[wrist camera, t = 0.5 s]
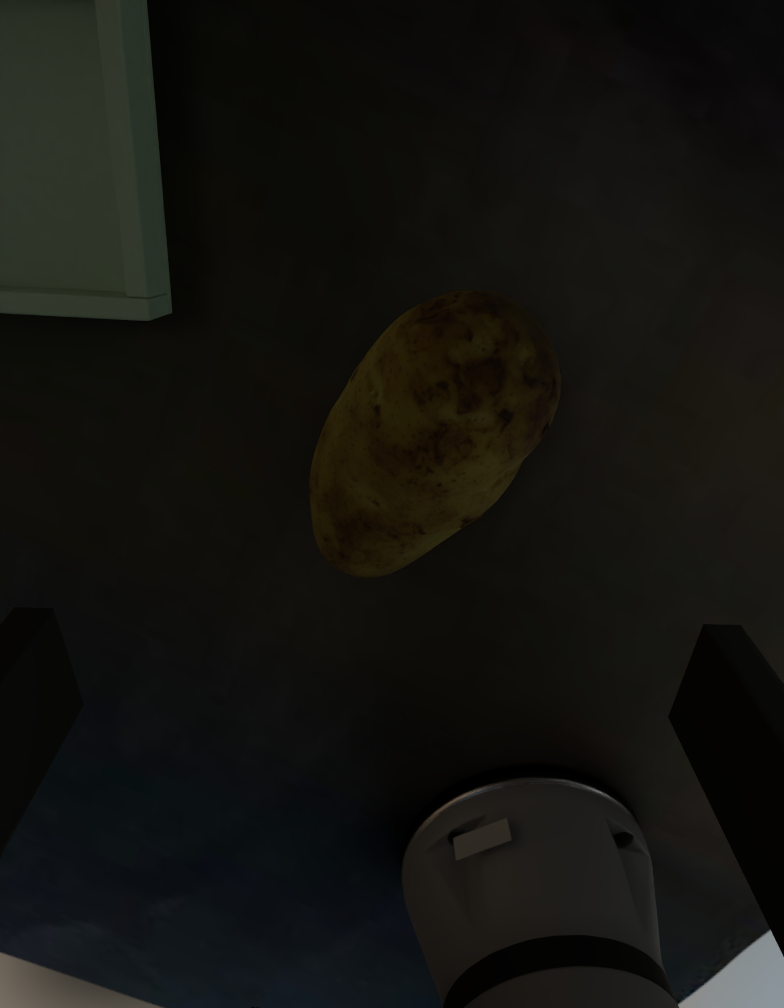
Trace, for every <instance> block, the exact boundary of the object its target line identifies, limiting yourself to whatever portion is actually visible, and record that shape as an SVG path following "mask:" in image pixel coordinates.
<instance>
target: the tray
mask: <svg viewBox="0 0 784 1008" xmlns="http://www.w3.org/2000/svg"><path fill="white" fill-rule="evenodd" d="M0 313H6V314H25V315H44V316H63V317H82V318H102V319H121V320H140V321H150V320H153V319H156V318H159V317H161V316H164V315H167V314H171V313H172V301H171V289H170V277H169V265H168V253H167V241H166V228H165V216H164V204H163V192H162V180H161V168H160V155H159V143H158V131H157V119H156V107H155V95H154V82H153V70H152V58H151V46H150V34H149V22H148V9H147V0H0Z"/></svg>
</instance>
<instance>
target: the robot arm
mask: <svg viewBox="0 0 784 1008" xmlns="http://www.w3.org/2000/svg"><path fill="white" fill-rule="evenodd" d="M83 705H84V703H83V700H82V697H81V694H80V691H79V688H78V685H77V681H76V678H75V675H74V672H73V669H72V666H71V663H70V660H69V656H68V653H67V650H66V647H65V644H64V641H63V638H62V634H61V631H60V628H59V625H58V622H57V619H56V616H55V613H54V609H53V608H18V607H14V609H13V610H12V611H11V612H10V614H9V615H8V616H7V617H6V618H5V620H4V621H3V622H2V623H1V625H0V856H1V854H2V852H3V851H4V849H5V847H6V845H7V843H8V841H9V840H10V838H11V836H12V834H13V832H14V831H15V829H16V827H17V825H18V823H19V821H20V820H21V818H22V816H23V814H24V812H25V811H26V809H27V807H28V805H29V803H30V801H31V800H32V798H33V796H34V794H35V792H36V790H37V789H38V787H39V785H40V783H41V781H42V780H43V778H44V776H45V774H46V772H47V770H48V769H49V767H50V765H51V763H52V761H53V760H54V758H55V756H56V754H57V752H58V750H59V749H60V747H61V745H62V743H63V741H64V739H65V738H66V736H67V734H68V732H69V730H70V729H71V727H72V725H73V723H74V721H75V719H76V718H77V716H78V714H79V712H80V710H81V709H82V707H83ZM668 718H669V720H670V722H671V724H672V726H673V728H674V730H675V732H676V734H677V736H678V738H679V741H680V743H681V745H682V747H683V749H684V751H685V753H686V755H687V757H688V759H689V761H690V763H691V765H692V767H693V770H694V772H695V774H696V776H697V778H698V780H699V782H700V784H701V786H702V788H703V790H704V792H705V794H706V797H707V799H708V801H709V803H710V805H711V807H712V809H713V811H714V813H715V815H716V817H717V819H718V821H719V824H720V826H721V828H722V830H723V832H724V834H725V836H726V838H727V840H728V842H729V844H730V846H731V848H732V850H733V853H734V855H735V857H736V859H737V861H738V863H739V865H740V867H741V869H742V871H743V873H744V875H745V877H746V880H747V882H748V884H749V886H750V888H751V890H752V892H753V894H754V896H755V898H756V900H757V902H758V904H759V906H760V909H761V911H762V913H763V915H764V917H765V919H766V921H767V923H768V925H769V927H770V929H771V931H772V933H773V936H774V938H775V940H776V942H777V944H778V946H779V948H780V950H781V952H782V954H783V956H784V684H783V683H782V681H781V680H780V679H779V677H778V676H777V675H776V673H775V672H774V670H773V669H772V668H771V666H770V665H769V664H768V662H767V661H766V659H765V658H764V657H763V655H762V654H761V653H760V651H759V650H758V648H757V647H756V646H755V644H754V643H753V641H752V640H751V639H750V637H749V636H748V635H747V633H746V632H745V630H744V629H743V628H742V626H741V625H712V624H703V627H702V629H701V632H700V635H699V637H698V640H697V643H696V645H695V648H694V651H693V653H692V656H691V658H690V661H689V664H688V666H687V669H686V672H685V674H684V677H683V680H682V682H681V685H680V687H679V690H678V693H677V695H676V698H675V701H674V703H673V706H672V709H671V711H670V714H669V716H668ZM401 879H402V888H403V893H404V898H405V903H406V907H407V911H408V913H409V916H410V919H411V921H412V924H413V927H414V929H415V932H416V935H417V937H418V940H419V943H420V945H421V948H422V951H423V953H424V956H425V959H426V961H427V964H428V967H429V969H430V972H431V975H432V977H433V980H434V983H435V985H436V988H437V991H438V993H439V996H440V999H441V1004H442V1008H679V1007H678V1004H677V1002H676V999H675V997H674V994H673V992H672V989H671V987H670V984H669V981H668V979H667V976H666V973H665V971H664V968H663V965H662V961H661V954H660V943H659V933H658V922H657V912H656V902H655V891H654V881H653V871H652V863H651V858H650V854H649V851H648V847H647V843H646V840H645V837H644V835H643V832H642V830H641V828H640V826H639V824H638V821H637V819H636V817H635V815H634V813H633V811H632V809H631V808H630V807H629V805H628V804H627V802H626V801H625V800H624V799H623V798H622V797H621V796H620V795H619V794H618V793H617V792H615V791H614V790H613V789H612V788H610V787H609V786H607V785H606V784H604V783H602V782H600V781H599V780H597V779H595V778H592V777H590V776H588V775H585V774H582V773H579V772H576V771H572V770H567V769H563V768H556V767H547V766H521V767H511V768H505V769H499V770H495V771H491V772H487V773H484V774H481V775H477V776H475V777H472V778H470V779H467V780H465V781H463V782H461V783H459V784H456V785H454V786H453V787H451V788H449V789H448V790H446V791H444V792H443V793H441V794H440V795H439V796H437V797H436V798H435V799H433V800H432V801H431V802H430V803H429V804H428V805H427V806H426V807H425V808H424V809H423V810H422V811H421V812H420V813H419V814H418V816H417V817H416V818H415V819H414V821H413V822H412V824H411V826H410V827H409V829H408V831H407V834H406V836H405V838H404V842H403V845H402V851H401ZM251 1008H259V1007H251Z"/></svg>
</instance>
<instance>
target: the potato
mask: <svg viewBox="0 0 784 1008" xmlns="http://www.w3.org/2000/svg"><path fill="white" fill-rule="evenodd" d="M561 395H562V382H561V369H560V368H559V365H558V361H557V358H556V355H555V352H554V349H553V346H552V343H551V341H550V340H549V338H548V336H547V334H546V332H545V331H544V329H543V328H542V327H541V325H540V324H539V323H538V322H537V321H536V320H535V319H534V318H533V317H532V316H531V315H530V314H529V313H528V311H527V310H526V309H525V308H523V307H522V306H520V305H519V304H518V303H516V302H515V301H513V300H512V299H510V298H509V297H507V296H504V295H502V294H499V293H496V292H491V291H483V290H464V291H456V290H454V291H452V292H450V293H447V294H444V295H441V296H438V297H435V298H433V299H430V300H428V301H425V302H423V303H420V304H419V305H417V306H415V307H413V308H411V309H410V310H408V311H406V312H405V313H404V314H402V315H401V316H400V317H399V318H398V319H397V320H395V321H394V322H393V323H392V324H391V325H390V326H389V327H388V329H387V330H386V331H385V332H384V333H383V334H382V335H381V336H380V337H379V339H378V340H377V341H376V342H375V343H374V344H373V346H372V347H371V348H370V350H369V351H368V352H367V354H366V355H365V356H364V358H363V359H362V360H361V362H360V363H359V365H358V366H357V368H356V369H355V371H354V373H353V374H352V376H351V378H350V379H349V381H348V383H347V385H346V387H345V389H344V390H343V392H342V394H341V396H340V397H339V399H338V400H337V402H336V403H335V405H334V406H333V408H332V409H331V411H330V413H329V415H328V418H327V420H326V422H325V424H324V427H323V429H322V432H321V434H320V437H319V439H318V443H317V446H316V449H315V453H314V457H313V461H312V465H311V471H310V479H309V495H310V507H311V517H312V525H313V531H314V536H315V540H316V543H317V546H318V548H319V550H320V552H321V554H322V556H323V557H324V558H325V559H326V561H327V562H328V563H329V564H330V565H332V566H333V567H334V568H336V569H337V570H340V571H342V572H344V573H347V574H350V575H353V576H356V577H362V578H373V577H379V576H384V575H387V574H390V573H393V572H395V571H397V570H399V569H401V568H403V567H405V566H407V565H408V564H410V563H411V562H413V561H415V560H416V559H418V558H419V557H421V556H422V555H424V554H425V553H427V552H428V551H430V550H431V549H432V548H434V547H435V546H437V545H438V544H439V543H441V542H442V541H444V540H445V539H447V538H448V537H450V536H451V535H453V534H454V533H455V532H457V531H458V530H460V529H461V528H464V527H466V525H469V524H470V525H471V523H474V522H476V520H477V521H478V520H479V519H481V517H482V514H483V513H484V512H485V511H486V510H488V509H489V508H490V507H491V506H492V505H493V504H494V503H495V502H496V501H497V500H498V499H499V498H500V496H501V495H502V494H503V493H504V491H505V490H506V489H507V487H508V486H509V485H510V483H511V482H512V480H513V479H514V477H515V476H516V474H517V472H518V470H519V468H520V466H521V464H522V462H523V460H524V458H526V457H527V456H528V455H529V454H530V453H531V451H532V450H533V449H534V448H535V447H536V446H537V445H538V443H539V442H540V441H541V439H542V438H543V436H544V435H545V433H546V432H547V430H548V429H549V426H550V424H551V423H552V420H553V417H554V415H555V411H556V408H557V405H558V402H559V399H560V397H561Z"/></svg>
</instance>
